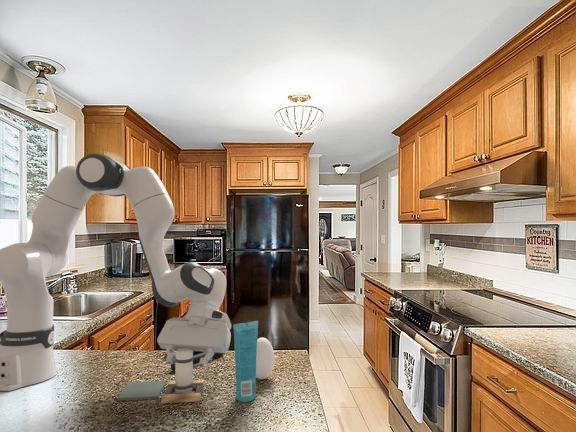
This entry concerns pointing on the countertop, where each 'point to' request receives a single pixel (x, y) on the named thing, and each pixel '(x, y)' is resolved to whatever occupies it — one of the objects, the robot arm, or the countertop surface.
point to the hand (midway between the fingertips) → (185, 364)
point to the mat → (142, 390)
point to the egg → (264, 358)
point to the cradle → (185, 397)
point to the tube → (245, 359)
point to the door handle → (195, 357)
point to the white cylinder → (183, 371)
